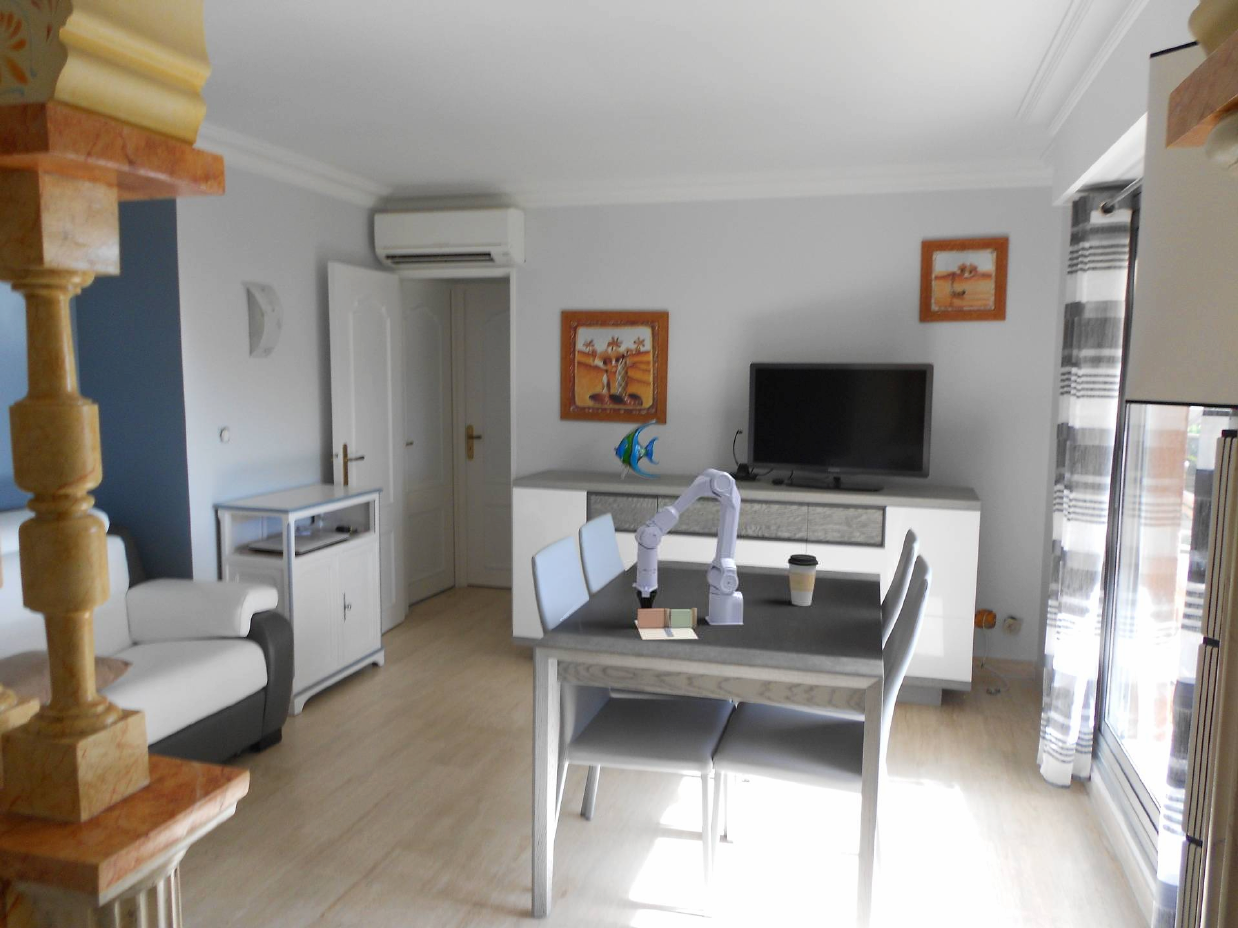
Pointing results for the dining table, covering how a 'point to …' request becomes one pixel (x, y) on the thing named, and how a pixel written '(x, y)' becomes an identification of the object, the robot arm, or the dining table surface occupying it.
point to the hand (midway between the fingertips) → (646, 616)
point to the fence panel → (653, 617)
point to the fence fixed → (683, 618)
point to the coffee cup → (802, 578)
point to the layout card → (666, 632)
